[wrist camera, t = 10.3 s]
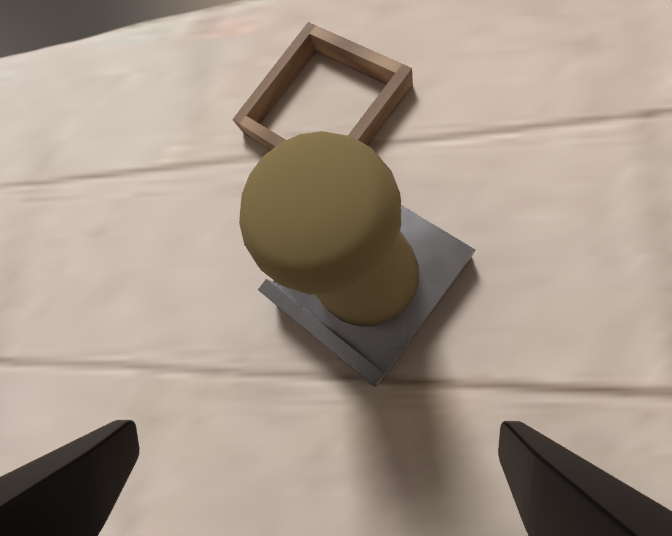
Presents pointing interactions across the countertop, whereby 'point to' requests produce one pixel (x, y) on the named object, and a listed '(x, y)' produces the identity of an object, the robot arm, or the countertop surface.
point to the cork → (331, 227)
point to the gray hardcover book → (392, 337)
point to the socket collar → (342, 51)
